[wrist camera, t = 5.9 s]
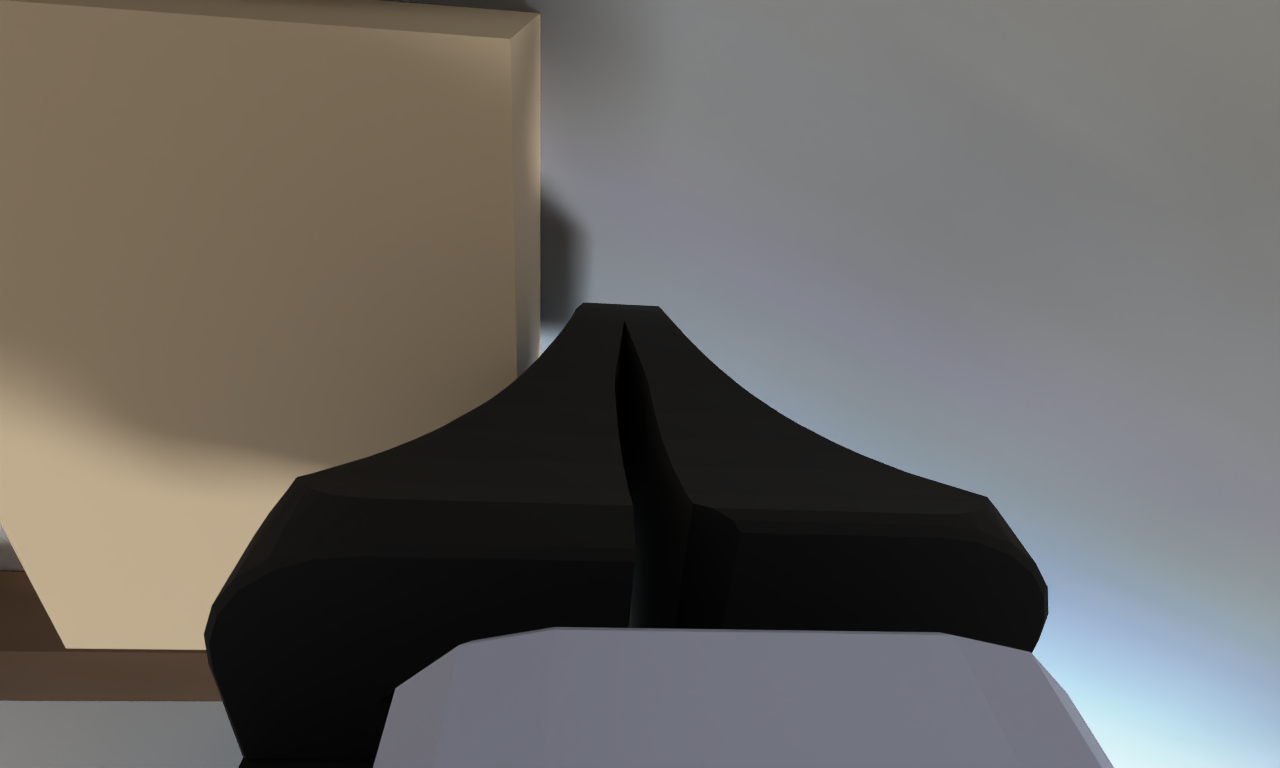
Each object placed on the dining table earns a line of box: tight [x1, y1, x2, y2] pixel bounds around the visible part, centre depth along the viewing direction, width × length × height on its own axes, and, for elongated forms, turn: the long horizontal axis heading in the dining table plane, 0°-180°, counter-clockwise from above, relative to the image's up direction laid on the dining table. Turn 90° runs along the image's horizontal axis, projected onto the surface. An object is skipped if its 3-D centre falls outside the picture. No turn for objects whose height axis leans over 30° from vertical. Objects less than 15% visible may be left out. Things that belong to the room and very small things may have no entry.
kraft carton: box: [0, 0, 540, 650], centre depth 10 cm, size 9×7×4 cm
